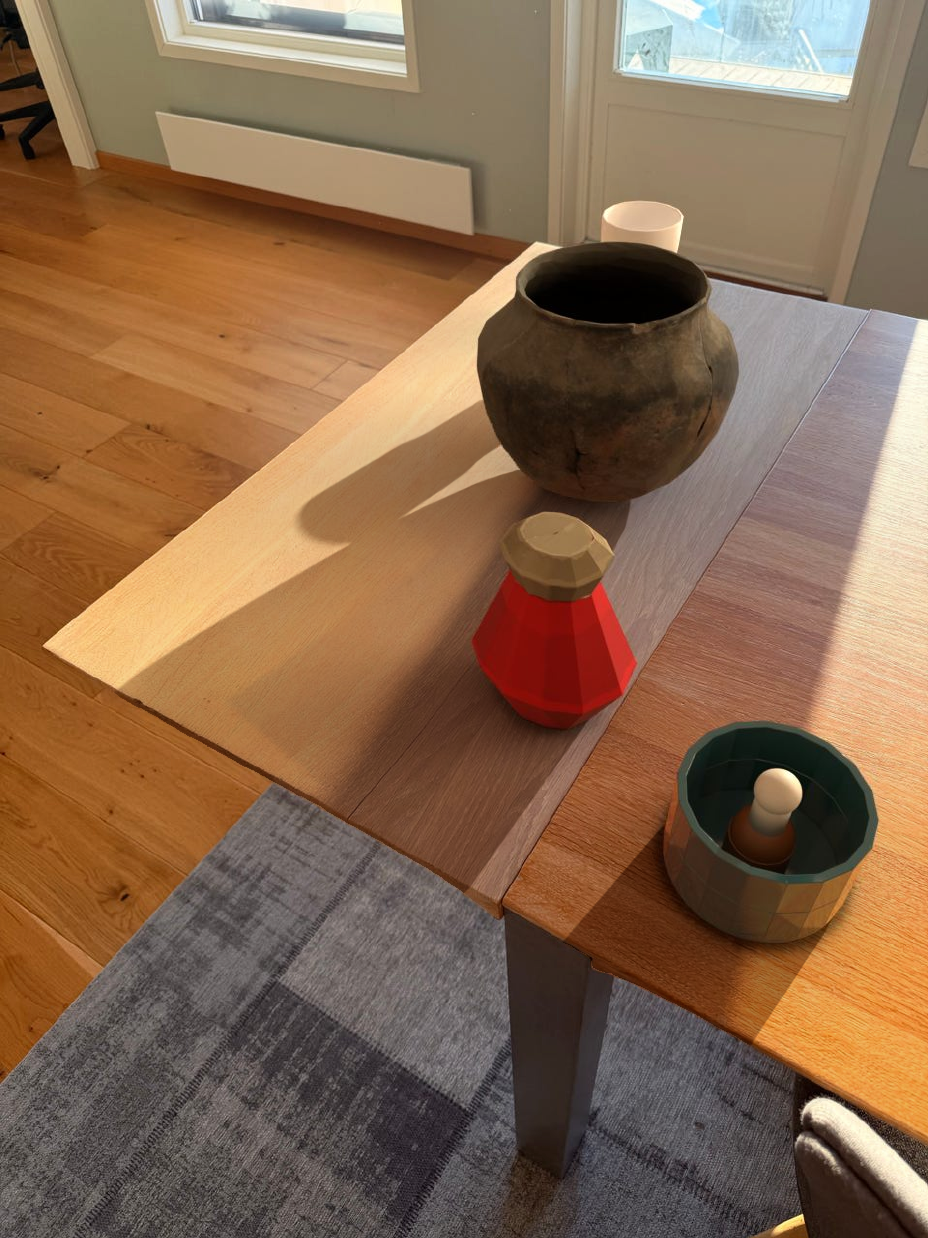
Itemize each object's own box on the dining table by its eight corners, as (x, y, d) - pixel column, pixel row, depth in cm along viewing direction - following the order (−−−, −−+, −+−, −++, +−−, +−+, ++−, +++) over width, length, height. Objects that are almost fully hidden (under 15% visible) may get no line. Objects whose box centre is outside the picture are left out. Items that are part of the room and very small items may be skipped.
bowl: (861, 824, 76) (893, 759, 70) (823, 977, 67) (856, 918, 61) (694, 762, 81) (710, 696, 75) (637, 896, 72) (650, 834, 66)
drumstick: (794, 843, 74) (826, 765, 67) (778, 895, 71) (810, 819, 64) (731, 819, 76) (756, 740, 69) (713, 868, 73) (737, 791, 65)
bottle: (659, 695, 87) (688, 532, 73) (571, 782, 80) (585, 621, 66) (533, 619, 95) (538, 459, 81) (443, 692, 88) (431, 531, 74)
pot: (513, 577, 99) (516, 372, 82) (459, 425, 122) (452, 238, 104) (763, 538, 103) (817, 333, 85) (666, 397, 125) (692, 212, 108)
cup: (633, 357, 133) (646, 238, 121) (578, 331, 140) (585, 215, 127) (683, 331, 138) (700, 214, 126) (627, 307, 145) (638, 194, 133)
